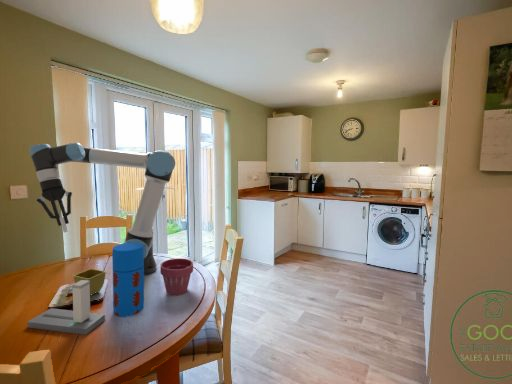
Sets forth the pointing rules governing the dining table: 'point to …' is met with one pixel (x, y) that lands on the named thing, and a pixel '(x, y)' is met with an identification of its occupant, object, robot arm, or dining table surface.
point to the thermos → (128, 279)
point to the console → (65, 321)
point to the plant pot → (176, 275)
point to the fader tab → (81, 300)
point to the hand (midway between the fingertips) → (66, 231)
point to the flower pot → (92, 279)
